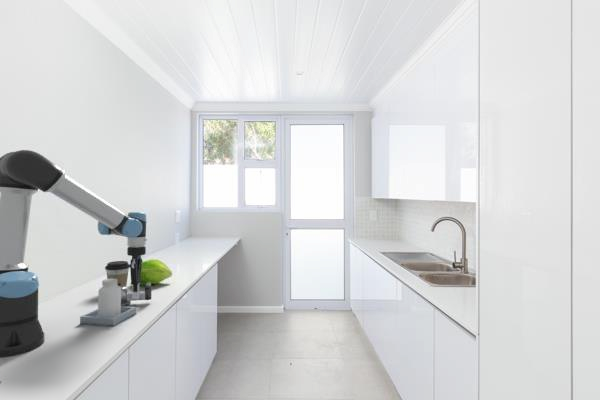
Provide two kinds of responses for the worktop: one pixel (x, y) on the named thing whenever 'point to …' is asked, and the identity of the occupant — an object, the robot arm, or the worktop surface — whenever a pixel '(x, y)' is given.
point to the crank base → (126, 303)
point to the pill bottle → (109, 299)
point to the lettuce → (154, 272)
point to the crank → (142, 295)
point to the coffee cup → (118, 271)
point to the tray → (103, 321)
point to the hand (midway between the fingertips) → (135, 298)
